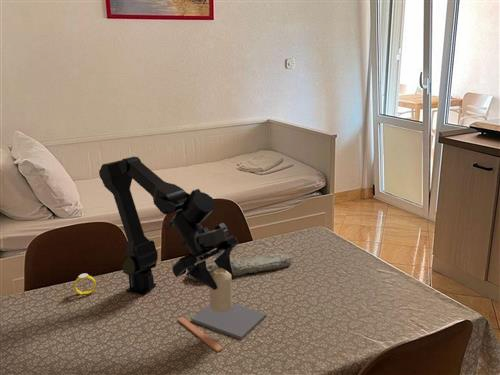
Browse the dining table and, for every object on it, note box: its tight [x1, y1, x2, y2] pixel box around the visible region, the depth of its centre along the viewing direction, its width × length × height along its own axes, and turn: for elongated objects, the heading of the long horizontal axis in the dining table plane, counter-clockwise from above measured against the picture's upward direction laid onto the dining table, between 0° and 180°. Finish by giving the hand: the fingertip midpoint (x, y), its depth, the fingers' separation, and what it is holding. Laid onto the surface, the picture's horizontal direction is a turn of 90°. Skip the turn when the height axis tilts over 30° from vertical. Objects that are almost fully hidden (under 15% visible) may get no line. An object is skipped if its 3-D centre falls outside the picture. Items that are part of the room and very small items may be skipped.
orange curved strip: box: [177, 316, 224, 353], centre depth 120 cm, size 18×2×1 cm, turn 40°
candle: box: [209, 268, 233, 312], centre depth 119 cm, size 6×6×10 cm
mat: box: [190, 302, 267, 340], centre depth 127 cm, size 16×12×1 cm
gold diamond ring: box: [73, 272, 97, 296], centre depth 141 cm, size 6×3×6 cm, turn 105°
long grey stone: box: [186, 253, 292, 282], centre depth 153 cm, size 35×5×10 cm
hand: (224, 284), depth 117 cm, fingers closed on candle, 5 cm apart
